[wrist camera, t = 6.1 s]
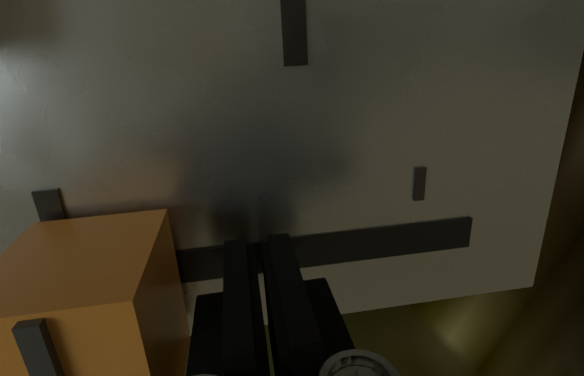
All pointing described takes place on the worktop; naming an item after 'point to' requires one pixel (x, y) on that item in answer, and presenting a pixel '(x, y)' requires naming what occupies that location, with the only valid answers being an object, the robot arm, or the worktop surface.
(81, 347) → the fader orange
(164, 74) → the console
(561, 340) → the worktop surface
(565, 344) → the worktop surface
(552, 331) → the worktop surface
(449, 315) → the worktop surface
